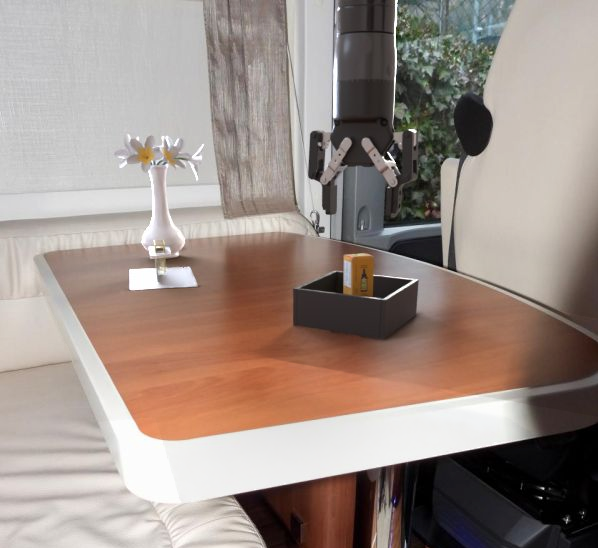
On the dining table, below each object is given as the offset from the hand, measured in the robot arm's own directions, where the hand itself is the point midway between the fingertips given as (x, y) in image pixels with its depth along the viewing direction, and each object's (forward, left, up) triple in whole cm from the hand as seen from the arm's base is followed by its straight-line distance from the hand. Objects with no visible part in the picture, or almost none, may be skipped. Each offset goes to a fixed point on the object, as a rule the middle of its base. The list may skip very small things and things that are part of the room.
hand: (360, 215), depth 84 cm
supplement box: (0, 0, -15) cm, 15 cm away
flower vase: (+59, -32, -16) cm, 69 cm away
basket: (0, 0, -16) cm, 16 cm away
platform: (+46, -14, -16) cm, 51 cm away
